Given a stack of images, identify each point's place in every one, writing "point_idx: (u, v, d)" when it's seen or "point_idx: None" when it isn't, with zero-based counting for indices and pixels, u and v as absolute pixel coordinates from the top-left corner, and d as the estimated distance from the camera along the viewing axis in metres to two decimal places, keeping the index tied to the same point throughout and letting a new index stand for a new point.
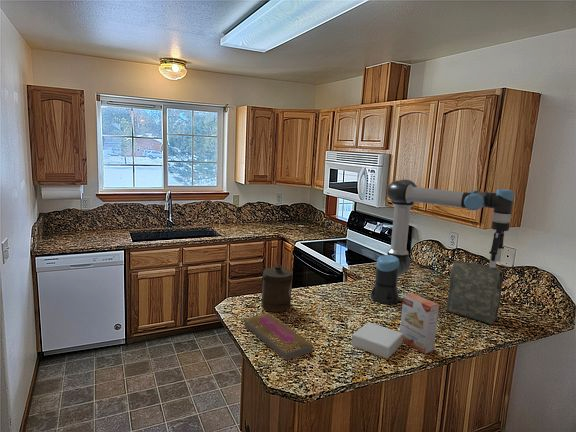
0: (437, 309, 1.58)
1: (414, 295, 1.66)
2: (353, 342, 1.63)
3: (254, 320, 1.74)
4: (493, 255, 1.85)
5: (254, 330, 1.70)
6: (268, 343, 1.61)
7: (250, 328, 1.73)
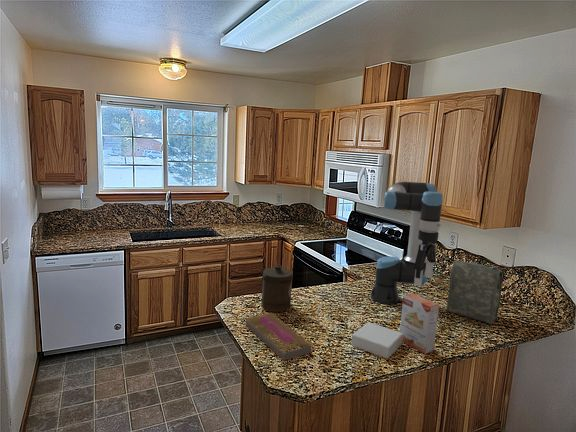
0: (437, 309, 1.58)
1: (414, 295, 1.66)
2: (353, 342, 1.63)
3: (255, 320, 1.74)
4: (417, 271, 1.53)
5: (254, 330, 1.70)
6: (267, 343, 1.61)
7: (251, 328, 1.73)
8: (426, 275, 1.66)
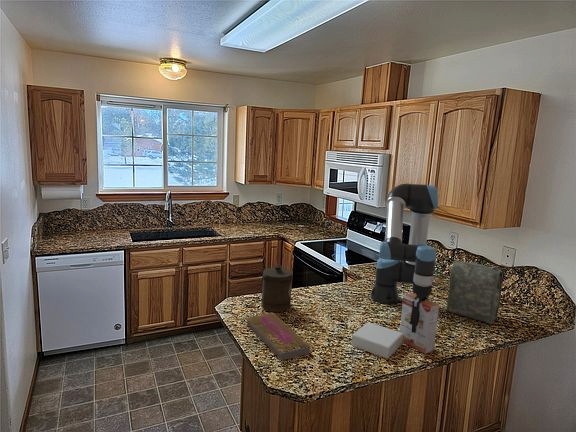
0: (437, 309, 1.58)
1: (414, 295, 1.66)
2: (353, 342, 1.63)
3: (256, 319, 1.75)
4: (413, 326, 1.60)
5: (255, 329, 1.71)
6: (266, 343, 1.61)
7: (251, 327, 1.74)
8: None
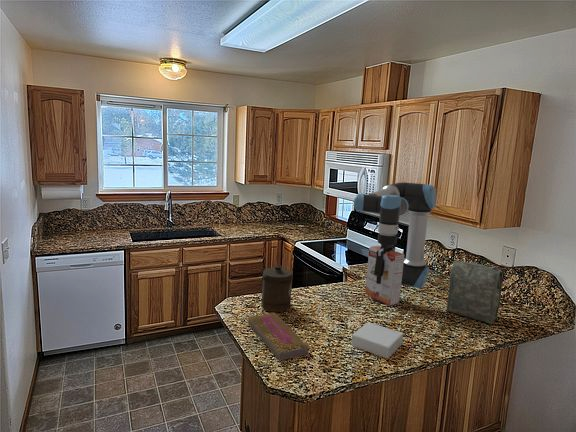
0: (402, 259, 1.54)
1: None
2: (353, 342, 1.63)
3: (256, 319, 1.75)
4: (378, 277, 1.56)
5: (255, 329, 1.71)
6: (266, 342, 1.61)
7: (252, 326, 1.74)
8: None
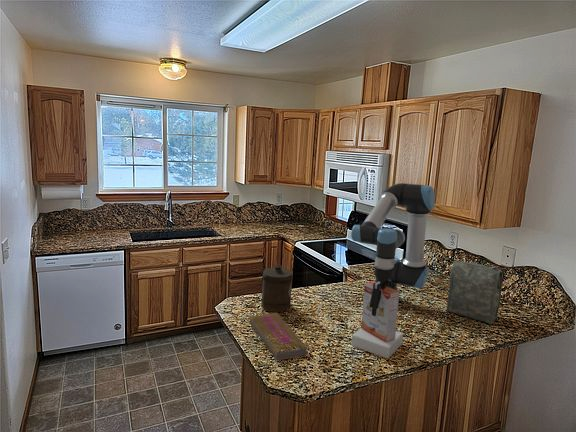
0: (397, 296, 1.57)
1: None
2: (353, 342, 1.63)
3: (257, 318, 1.75)
4: (373, 309, 1.57)
5: (256, 328, 1.72)
6: (265, 342, 1.61)
7: (253, 326, 1.75)
8: None
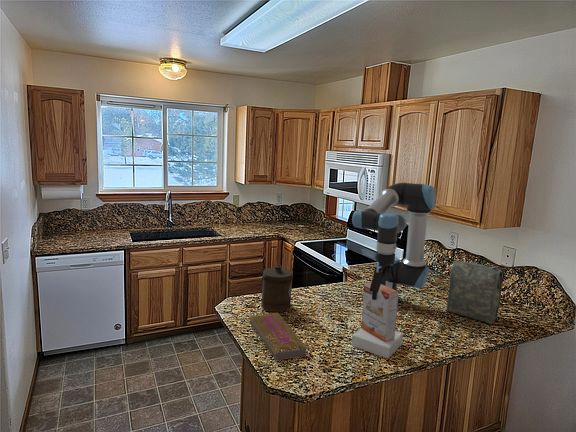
0: (397, 296, 1.57)
1: None
2: (353, 342, 1.63)
3: (258, 318, 1.76)
4: (374, 293, 1.55)
5: (256, 328, 1.72)
6: (264, 342, 1.62)
7: (253, 326, 1.75)
8: None
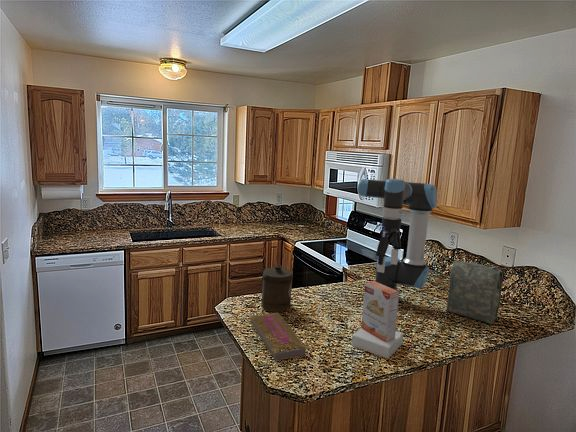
0: (397, 296, 1.57)
1: (376, 283, 1.65)
2: (353, 342, 1.63)
3: (258, 318, 1.76)
4: (380, 258, 1.55)
5: (256, 328, 1.72)
6: (264, 342, 1.62)
7: (254, 326, 1.75)
8: (392, 262, 1.68)
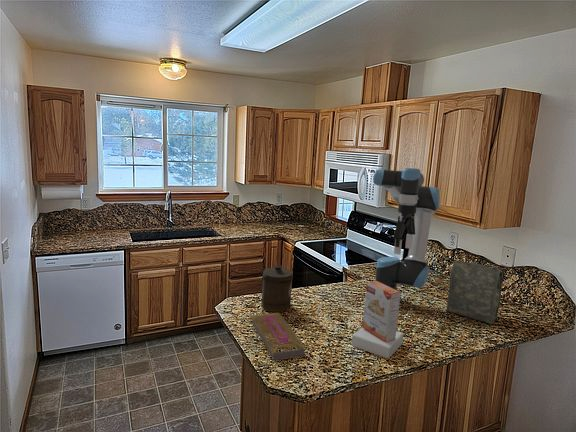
0: (399, 297, 1.57)
1: (378, 283, 1.65)
2: (353, 342, 1.63)
3: (259, 318, 1.76)
4: (397, 240, 1.67)
5: (256, 328, 1.72)
6: (264, 342, 1.62)
7: (254, 325, 1.76)
8: (406, 246, 1.80)
